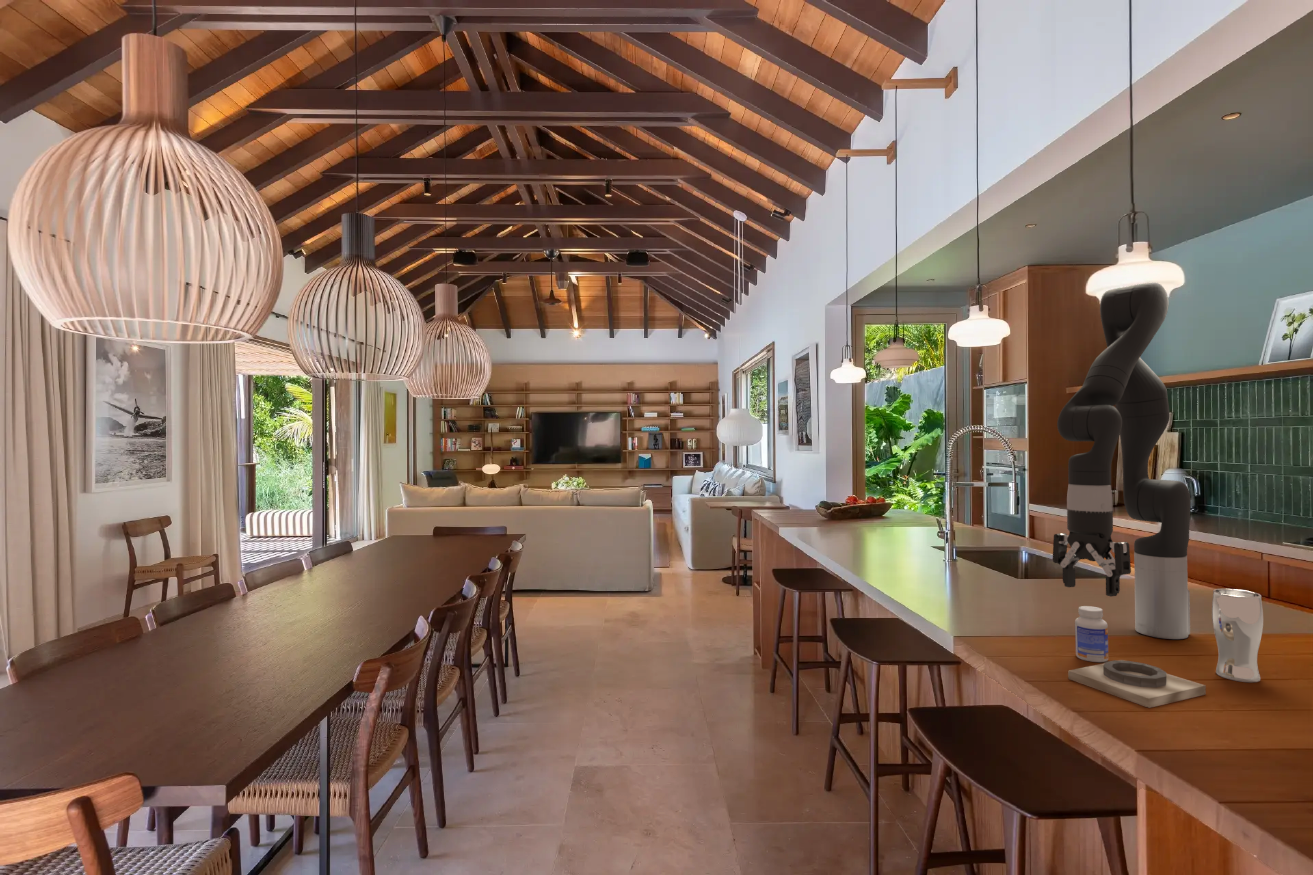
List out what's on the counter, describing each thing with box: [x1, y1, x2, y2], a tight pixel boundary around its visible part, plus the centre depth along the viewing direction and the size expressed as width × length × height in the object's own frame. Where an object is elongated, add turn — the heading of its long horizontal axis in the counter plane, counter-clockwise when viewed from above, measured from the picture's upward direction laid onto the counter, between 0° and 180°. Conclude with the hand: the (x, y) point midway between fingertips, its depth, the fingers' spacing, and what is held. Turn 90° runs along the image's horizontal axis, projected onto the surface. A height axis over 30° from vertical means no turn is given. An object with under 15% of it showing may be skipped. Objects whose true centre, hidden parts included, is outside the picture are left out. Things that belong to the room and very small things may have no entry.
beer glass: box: [1211, 588, 1264, 683], centre depth 122 cm, size 7×7×15 cm
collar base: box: [1067, 659, 1207, 709], centre depth 118 cm, size 14×14×3 cm
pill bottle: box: [1074, 605, 1109, 663], centre depth 132 cm, size 5×5×10 cm
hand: (1090, 591), depth 132 cm, fingers open, 8 cm apart
